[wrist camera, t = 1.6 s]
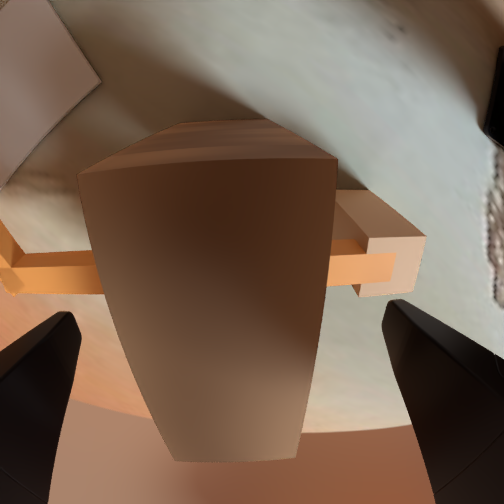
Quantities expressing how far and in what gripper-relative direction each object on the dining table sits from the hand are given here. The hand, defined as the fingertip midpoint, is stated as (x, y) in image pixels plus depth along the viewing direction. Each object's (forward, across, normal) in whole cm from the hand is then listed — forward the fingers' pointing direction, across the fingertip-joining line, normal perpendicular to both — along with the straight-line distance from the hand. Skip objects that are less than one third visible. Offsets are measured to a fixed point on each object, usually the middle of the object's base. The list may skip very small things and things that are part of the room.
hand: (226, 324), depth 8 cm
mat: (+8, +14, -8) cm, 18 cm away
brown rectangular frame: (+8, 0, 0) cm, 8 cm away
